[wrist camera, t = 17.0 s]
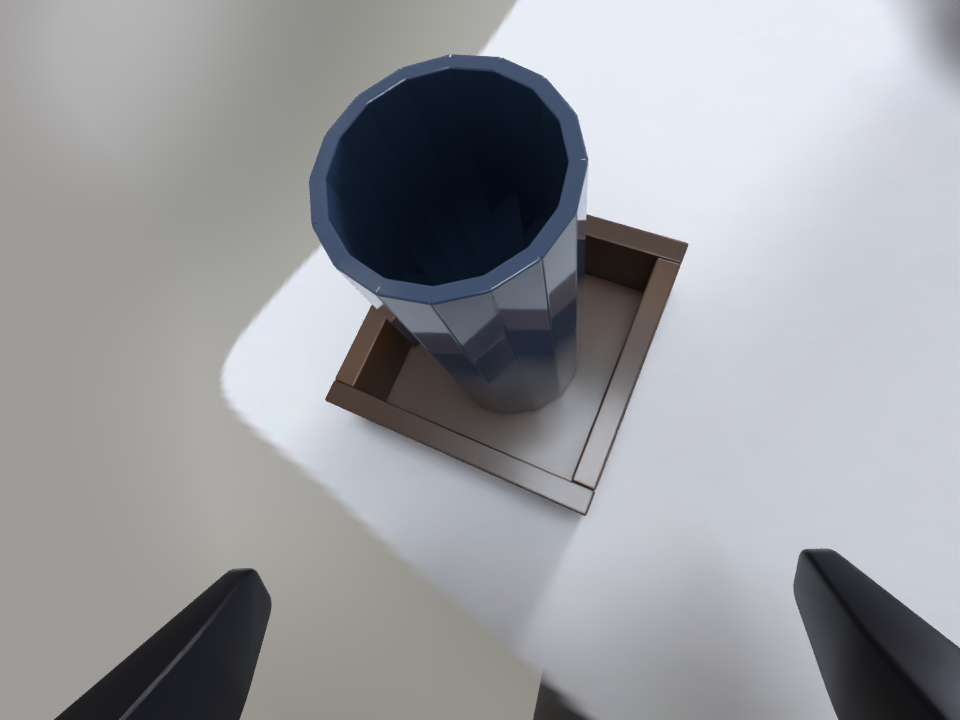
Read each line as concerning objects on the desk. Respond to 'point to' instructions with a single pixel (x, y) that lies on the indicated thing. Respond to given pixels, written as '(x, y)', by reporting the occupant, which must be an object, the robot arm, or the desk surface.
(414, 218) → the tapered cup
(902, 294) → the desk surface
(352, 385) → the holder
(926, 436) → the desk surface
